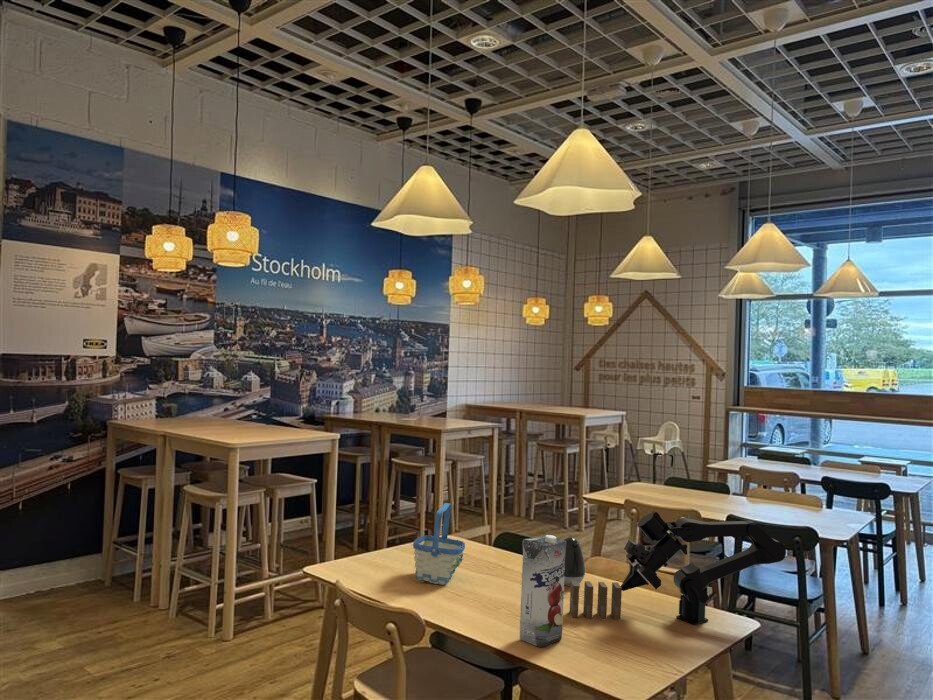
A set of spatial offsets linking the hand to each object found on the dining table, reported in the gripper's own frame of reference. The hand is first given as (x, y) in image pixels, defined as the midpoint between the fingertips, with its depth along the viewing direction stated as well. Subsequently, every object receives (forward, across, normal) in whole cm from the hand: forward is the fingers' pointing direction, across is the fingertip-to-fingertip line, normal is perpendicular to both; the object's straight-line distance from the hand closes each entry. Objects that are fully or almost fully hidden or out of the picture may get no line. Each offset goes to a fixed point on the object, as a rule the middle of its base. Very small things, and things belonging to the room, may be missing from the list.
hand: (621, 589), depth 199 cm
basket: (+43, -30, -31) cm, 61 cm away
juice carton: (+24, +20, -12) cm, 33 cm away
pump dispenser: (+13, -30, -1) cm, 32 cm away
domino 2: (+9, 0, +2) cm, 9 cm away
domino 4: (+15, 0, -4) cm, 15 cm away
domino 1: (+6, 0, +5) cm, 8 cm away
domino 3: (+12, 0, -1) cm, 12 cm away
